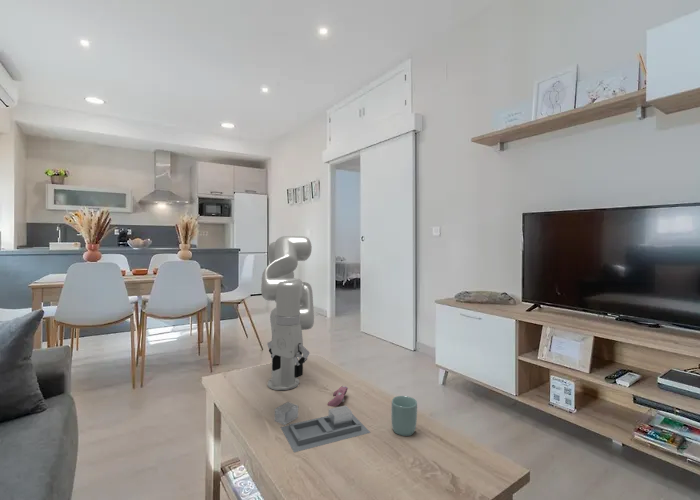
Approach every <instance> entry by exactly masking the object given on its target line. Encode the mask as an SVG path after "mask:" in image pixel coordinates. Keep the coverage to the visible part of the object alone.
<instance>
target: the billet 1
mask: <svg viewBox="0 0 700 500" xmlns="http://www.w3.org/2000/svg"><path fill="white" fill-rule="evenodd" d="M297 418H299V405H298V404H294V403H292V402H290V401H287V402H286V403H283V404H281V405H279V406H277V407H276V408H274V422H276V423H278V424H281V425H283V426H287V425H289V423H290V424H291V423H292V421H295V420H296V419H297Z"/></svg>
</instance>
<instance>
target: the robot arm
mask: <svg viewBox="0 0 700 500" xmlns="http://www.w3.org/2000/svg"><path fill="white" fill-rule="evenodd" d="M311 253H312V242H311V240H310V239H309V238H308V237H307V236H300V235H299V236H298V235H297V236H295V235H292V236H291V235H286V236H285V235H283V236H280V237H278V238H277V239H276V240H275V241H273V242H271V243H269V245H268V248H267V256H268V260H269V264H268V265H267V266H266V267H265V268H264V270H263V272H262V276H261V286H260V287H261V288H260V289H261V290H260V291H261V297H262V298H263V299H264V300H265V301H271V302H272V301H274V302H275V303H276V304H275V305H276V306H275V308H273V309H272V310H271V311H270V313H269V314H270V315H269V320H270V321H269V322H270V328H271V341H268V342H267V344H266V345H267V347H268V352H269V354H270V358H271V378H270V379H268V381H267V387H268V388H269V389H271V390H275V391H288V390H289V391H290V390H292V389H295V388H297V387H298V386H299V385H300V379H299V377H301V376H302V377H303V375H304V374H303V373H304V372H303V371H304V369H303V368H304V367H303V366H304V364H305V362H306V361H307V360H308V357H309V355H310V351H309V350H308V349H307V348H305V346H304V339H303V331H306V330H310V329H312V328H313V326H314V324H315V314H314V313H315V312H314V311H315V310H314V295H313V289H312V285H311V284H310V283H309V282H306V281H305V282H303V281H302V279H300V278H297V277H295V272H294V271H295V270H296V269H297V268H298V265H299V264H298V263H299V262H305V261H307V260H308V259H309V258H310V256H311Z"/></svg>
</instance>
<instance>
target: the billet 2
mask: <svg viewBox="0 0 700 500" xmlns="http://www.w3.org/2000/svg"><path fill="white" fill-rule="evenodd" d="M352 414H353V411H352V410H351V409H350V408H349V407H348V406H347V405H342V406H341V405H340V406H335V407H333V408H328V416H329V417H328V425H329V426H330V427H331V428H332V430H337V429H341V428H345V427H349V426H352Z"/></svg>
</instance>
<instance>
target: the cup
mask: <svg viewBox="0 0 700 500" xmlns="http://www.w3.org/2000/svg"><path fill="white" fill-rule="evenodd" d="M390 411H391V413H390V415H391V418H390V419H391V428H392V430H393V433H395V434H397V435H399V436H402V437H409V436H412V435H413V434H414V433H415V431H416V428H417V422H418V402H417V400H416V399H415V398H413V397H411V396H406V395H398V396H397V395H396V396H395V397H393V398H392V400H391V410H390Z"/></svg>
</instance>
